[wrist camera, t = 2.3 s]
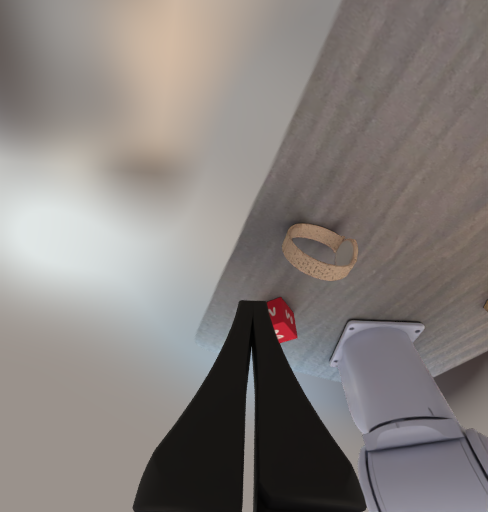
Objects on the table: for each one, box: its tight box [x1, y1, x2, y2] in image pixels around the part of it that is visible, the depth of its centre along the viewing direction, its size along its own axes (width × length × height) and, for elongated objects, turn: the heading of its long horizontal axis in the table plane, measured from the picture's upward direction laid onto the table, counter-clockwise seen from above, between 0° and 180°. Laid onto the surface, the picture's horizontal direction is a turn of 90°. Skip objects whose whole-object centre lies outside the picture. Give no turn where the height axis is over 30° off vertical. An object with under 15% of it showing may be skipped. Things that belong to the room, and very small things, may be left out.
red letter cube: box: [267, 297, 297, 343], centre depth 23 cm, size 3×3×3 cm
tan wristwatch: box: [282, 223, 358, 281], centre depth 16 cm, size 3×5×5 cm, turn 77°
